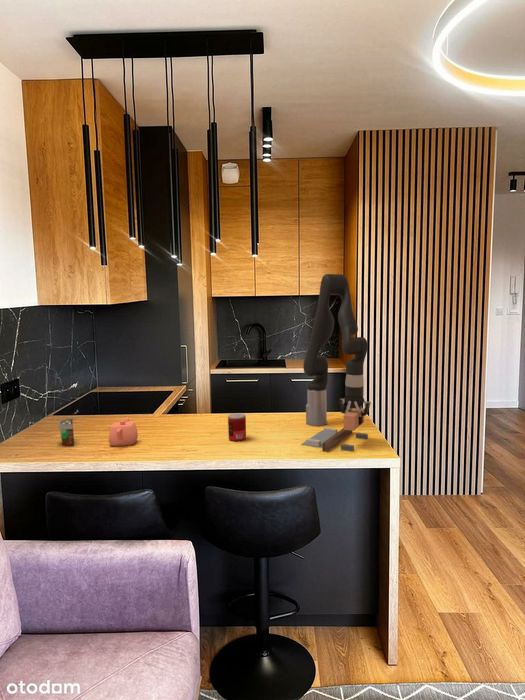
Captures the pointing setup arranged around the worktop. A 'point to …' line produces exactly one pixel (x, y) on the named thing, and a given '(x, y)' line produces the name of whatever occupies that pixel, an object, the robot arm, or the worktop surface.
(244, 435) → the canned food
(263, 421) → the worktop surface
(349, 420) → the bar
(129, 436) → the teapot
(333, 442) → the door edge
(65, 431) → the food container
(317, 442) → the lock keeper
